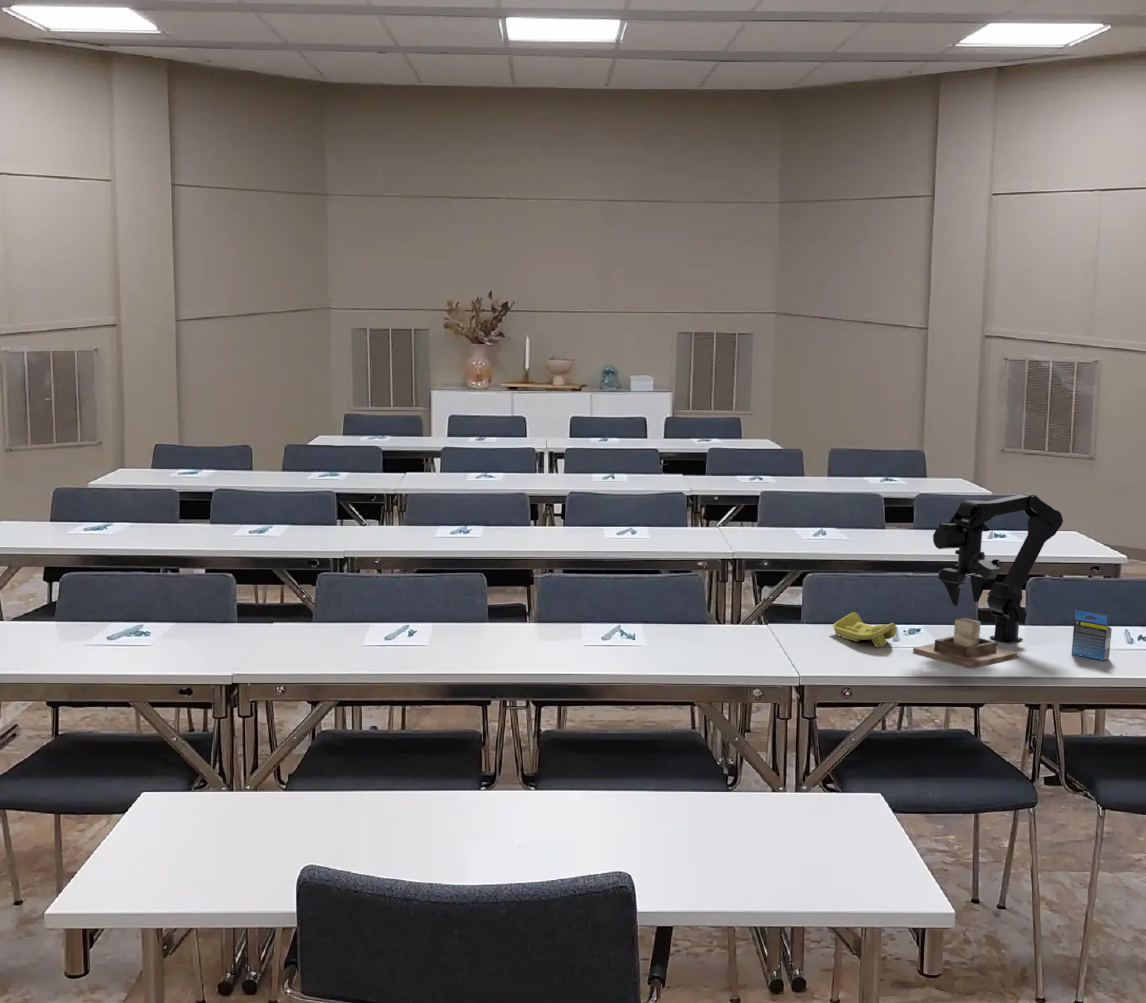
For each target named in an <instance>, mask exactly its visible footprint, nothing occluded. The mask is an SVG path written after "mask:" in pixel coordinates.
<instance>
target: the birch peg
mask: <svg viewBox="0 0 1146 1003" xmlns="http://www.w3.org/2000/svg"><path fill="white" fill-rule="evenodd" d="M953 632H954V633H953V636H954V644H958V645H962V646H965V647H969V646H974V645H979V638H980V635H981V621H979V620H974V619H970V618H966V617H963V618H957V619H955V620H954V630H953Z"/></svg>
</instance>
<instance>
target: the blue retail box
mask: <svg viewBox="0 0 1146 1003" xmlns="http://www.w3.org/2000/svg"><path fill="white" fill-rule="evenodd" d="M1090 616H1091V617H1092V618H1094V619H1092V618H1087V617H1090ZM1111 639H1112V628H1111V627H1110V626H1109V625H1108V615H1106V614H1105V615H1104V614H1100V613H1096V612H1095V613H1094V612H1090V611H1084V610H1079V609H1075V610H1074V619H1073V632H1072V644H1071V655H1072V654H1075V655H1074V656H1076V655H1081V656H1080V657H1082V656H1085V657H1084V658H1087V657H1089V658H1088V659H1092V658H1093V660H1097V659H1100V660H1099V661H1101V660H1105V659H1107V660H1109V659H1110V652H1111V651H1110V650H1111ZM1108 658H1109V659H1108ZM1105 661H1106V660H1105Z"/></svg>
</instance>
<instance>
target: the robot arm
mask: <svg viewBox="0 0 1146 1003" xmlns="http://www.w3.org/2000/svg"><path fill="white" fill-rule="evenodd" d="M1021 511H1023V513H1024V514H1025V516H1027V517H1028V521H1027V536H1026V538H1025V539H1024V542H1023V543H1022V545H1021V547H1020V549H1019V551H1018V553H1017V555H1016V556H1015V559H1014V561H1013V563H1012V565H1011V566H1010V568H1009V570H1008V572H1007V575H1006V577H1004V579H1003V580H1002V581H1001V582H996V581H994V582H993V583H992V586H991V588H990V591H989V592H988V593H987V595H988V597H987V598H986V599H987V600H986V602H987V605H988V607H989V610H990V614H991V616H995V617H996V618H995V627H994V634H993V635H991V636H989V639H992V640H996V641H1000V642H1004V643H1007V644H1011V643H1016V642H1020V641H1023V637H1019V629H1020V625H1019V624H1020V623H1021V622H1025V620H1026V619H1027V616H1028V613H1027V612H1026V611H1025V609H1024V608H1023V606H1022V605H1021V603H1022V601H1023V586H1024V584H1025V582H1026V580H1027V578H1028V576H1029V574H1030V572H1031V570H1032V569H1033V566H1034V565H1035V563H1036V561H1037V559H1038V557H1039V555H1040V553H1041V551H1042V549H1043V547H1044V545H1045V543H1046V542H1047V541H1049V540H1050V539H1051V538H1052V537H1053V536H1055V535H1056V534H1057V532H1058V531H1059V530H1060V528H1061V527H1062V525H1063V523H1064V522H1063V521H1064V518H1063V515H1062V514H1061V512H1060V510H1057V509H1054V508H1053V507H1051V506H1050V505H1049V504H1047V503H1046V502H1044V501H1043V500H1042V499H1040V498H1039V497H1038V496H1037V495H1035V494H1032V493H1027V492H1022V493H1020V494H1017V495H1011V496H1007V497H1001V498H997V499H991V500H975V499H974V500H972V499H970V500H968V499H967V500H962V501H961V502H960V505H959V507H958V508H957V509H956V512H955V513H954V514H953V515H952V517H951V519H949V522H948V523H939V524H938V527H937V528H936V530H935V531H934V533H933V535H932V540H933V543H934V544H933V545H934V546H935V547H936V549H938V550H943V549H946V550H947V549H948V550H949V549H955V553H954V554H955V555H958V557H957V564H954V565H953V566H954V568H952V567H947V568H941V569H940V570H939V571H938V573H937V574H938V577H937V579H938V580H940V583H943V585H944V587H945V589H946V591H947V593H948V595H949V598H950V601H951V604H952V605H953V606H955V607H958V604H959V599H960V593H961V589H962V587H963V586H964V585H965V584H966V582H964V581H965V580H966V577H970V578H969V579H970V584H971V592H972V598H973V602H974V603H979V601H980V599H981V596H982V593H983V591H984V589H985V587H986V585H987V584H988V583H990V582H991V581H993V580H994V579H996V578H997V577H998V573H1001V572H1002V570H1003V569H1002V566H1003V565H1002V564H1003V563H1002V560H1000V559H998V558H994V559H993V560H991V559H987V558H986V556H985V555H986V553H985V551H982V539H983V533H984V532H990V528H989V527H988V526H987V525H986V524H985V523H986V522H989V521H991V520H992V519H993V518H994V517H997V516H1001V515H1006V514H1011V513H1015V512H1016V513H1017V512H1021Z"/></svg>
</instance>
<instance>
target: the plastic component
mask: <svg viewBox="0 0 1146 1003" xmlns="http://www.w3.org/2000/svg"><path fill="white" fill-rule="evenodd" d="M832 627H833V630H834V632H835V634H838V635H840V636H843V637H845V638H847V639H846V640H848V639H849V641H851V640H853V641H852V642H854V641H855V643H858V642H859V641H862V640H865V641H866V640H869V641H870V640H871V642H872V644H873V646H874V645H876V646H877V647H876V646H875V647H876V648H883V646H885V645H887V640H890V639H892V638H894V637H895V635H896V634H897V627H896V624H895V622H890V623H889V624H876V625H871V624H868V623H864V622H863V620H862V618H861V617H860V615H859V614H858V613H857V612H855V611H854V612H851V613H849V614H847V615H846V616H844V617H843V618H840V619H839V620H838V621H835V622H834V624H833V625H832ZM840 636H839V637H840ZM845 638H844V639H845Z"/></svg>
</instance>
